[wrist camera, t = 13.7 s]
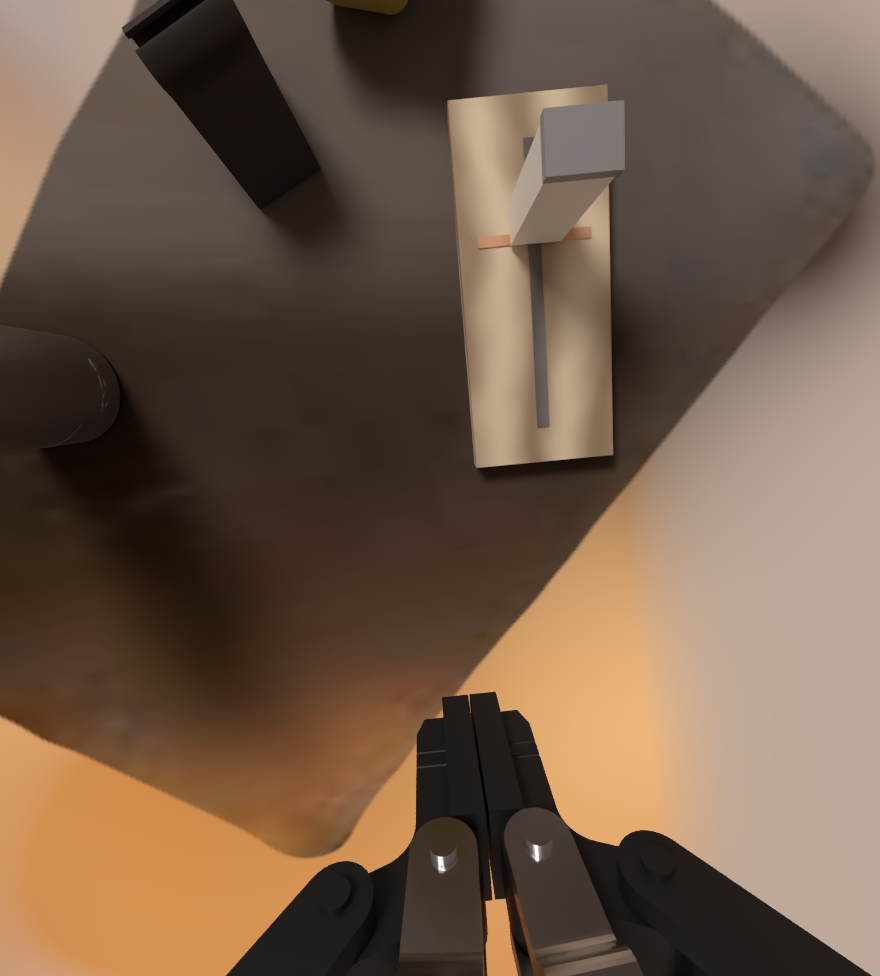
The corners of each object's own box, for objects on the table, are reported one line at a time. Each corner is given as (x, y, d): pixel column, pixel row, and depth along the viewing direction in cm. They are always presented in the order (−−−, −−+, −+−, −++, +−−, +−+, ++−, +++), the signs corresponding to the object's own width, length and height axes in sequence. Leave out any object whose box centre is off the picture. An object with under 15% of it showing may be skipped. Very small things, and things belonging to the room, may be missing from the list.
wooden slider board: (474, 464, 41) (476, 468, 39) (446, 116, 36) (447, 99, 34) (604, 451, 41) (613, 455, 39) (597, 101, 36) (607, 83, 34)
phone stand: (194, 99, 35) (75, -47, 24) (258, 56, 35) (168, -117, 23) (260, 210, 37) (179, 125, 25) (321, 170, 36) (268, 63, 25)
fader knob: (509, 247, 36) (546, 177, 24) (506, 202, 35) (543, 107, 23) (562, 242, 36) (624, 169, 24) (560, 197, 35) (624, 99, 23)
